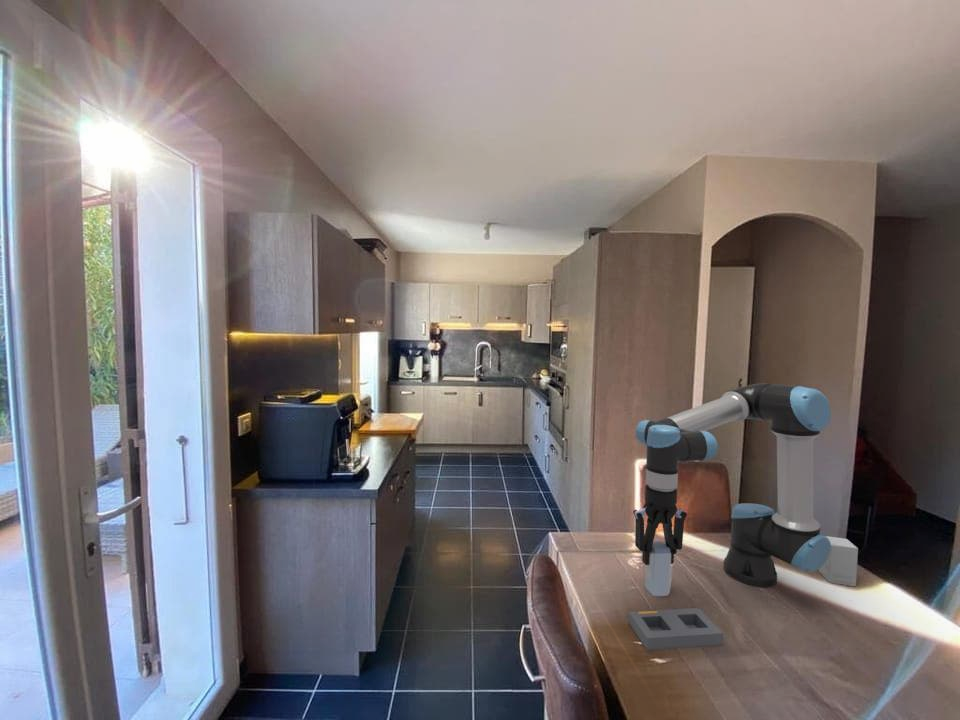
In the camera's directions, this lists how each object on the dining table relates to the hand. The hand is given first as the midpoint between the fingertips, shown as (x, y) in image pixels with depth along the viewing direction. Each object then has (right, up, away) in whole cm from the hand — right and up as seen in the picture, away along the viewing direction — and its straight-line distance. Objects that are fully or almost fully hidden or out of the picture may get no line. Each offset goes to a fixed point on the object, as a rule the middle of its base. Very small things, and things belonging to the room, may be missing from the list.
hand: (657, 575), depth 109 cm
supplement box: (+71, -16, +30) cm, 79 cm away
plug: (0, -4, 0) cm, 4 cm away
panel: (+5, -17, +2) cm, 18 cm away
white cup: (+9, -16, +21) cm, 28 cm away
